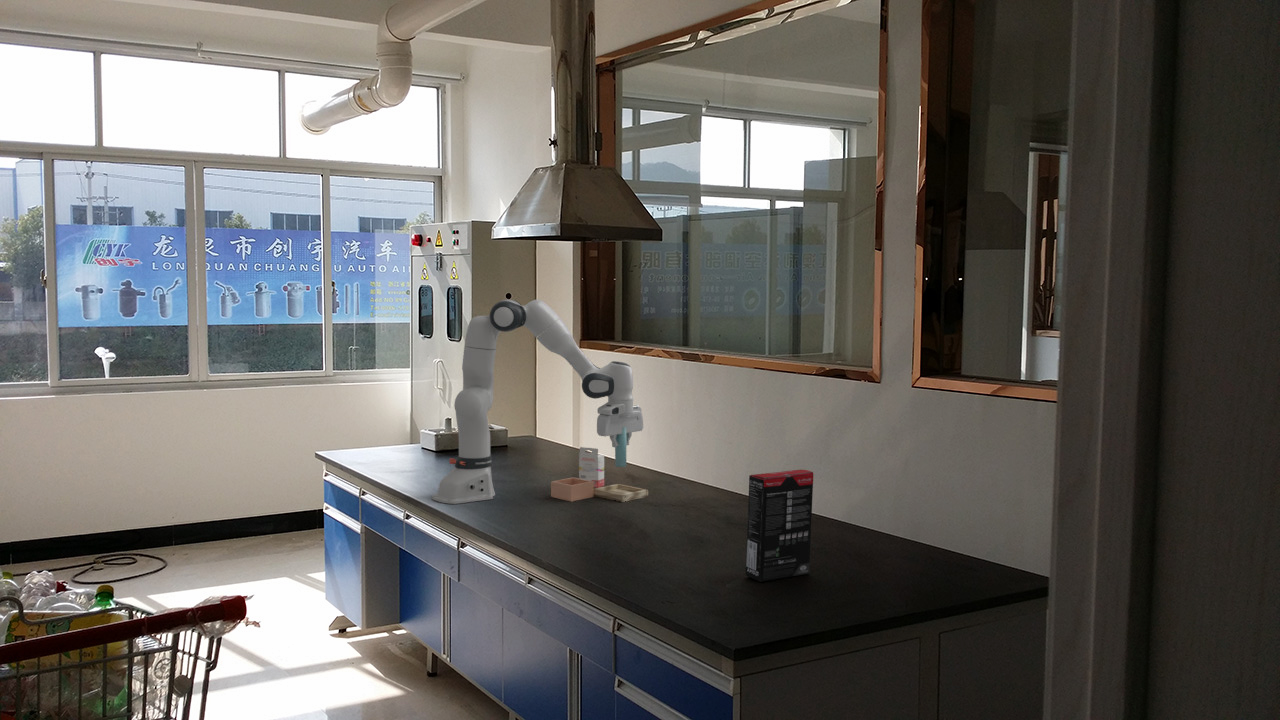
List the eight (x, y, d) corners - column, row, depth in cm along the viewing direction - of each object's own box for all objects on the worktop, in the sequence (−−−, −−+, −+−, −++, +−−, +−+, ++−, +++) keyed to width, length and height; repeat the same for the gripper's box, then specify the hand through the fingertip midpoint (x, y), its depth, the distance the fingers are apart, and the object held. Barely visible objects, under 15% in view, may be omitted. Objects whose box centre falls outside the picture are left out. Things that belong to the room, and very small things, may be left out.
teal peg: (620, 467, 349) (620, 428, 347) (612, 466, 351) (612, 426, 350) (628, 465, 351) (628, 426, 350) (620, 464, 354) (620, 425, 353)
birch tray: (622, 502, 342) (622, 495, 342) (592, 495, 353) (592, 488, 352) (648, 496, 352) (648, 489, 352) (618, 490, 362) (618, 483, 362)
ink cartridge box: (604, 486, 370) (605, 446, 369) (598, 488, 365) (598, 448, 364) (585, 483, 374) (585, 445, 373) (578, 486, 369) (578, 446, 368)
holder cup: (571, 501, 343) (571, 485, 343) (551, 496, 350) (551, 481, 350) (593, 496, 351) (593, 481, 350) (573, 492, 358) (573, 477, 357)
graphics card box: (795, 567, 265) (796, 467, 263) (812, 574, 259) (814, 471, 257) (744, 577, 256) (746, 473, 254) (761, 584, 250) (763, 477, 248)
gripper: (634, 404, 359) (634, 441, 360) (593, 409, 345) (593, 448, 346) (647, 405, 355) (647, 443, 356) (606, 410, 340) (606, 450, 341)
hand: (620, 446), depth 351 cm, fingers closed on teal peg, 4 cm apart
